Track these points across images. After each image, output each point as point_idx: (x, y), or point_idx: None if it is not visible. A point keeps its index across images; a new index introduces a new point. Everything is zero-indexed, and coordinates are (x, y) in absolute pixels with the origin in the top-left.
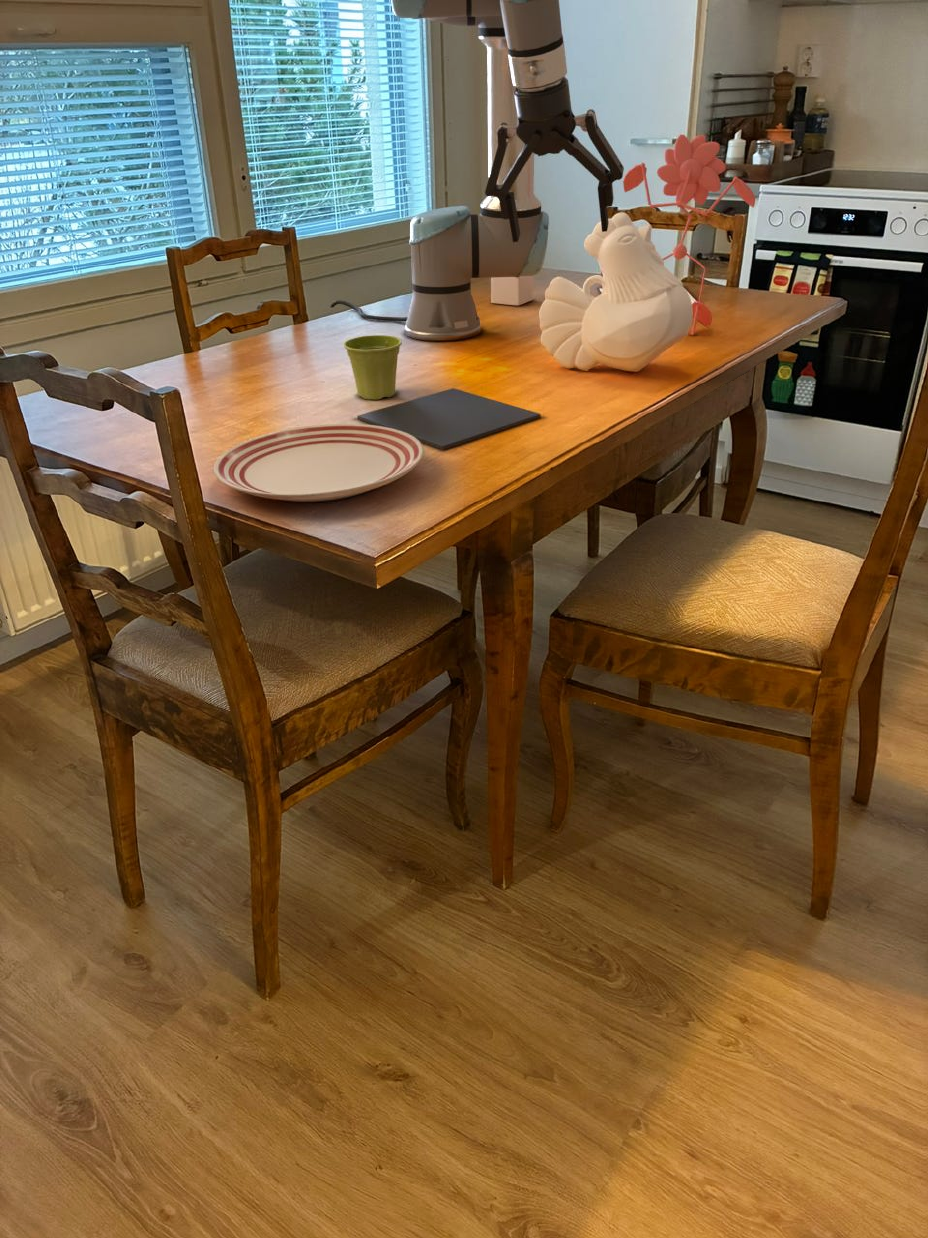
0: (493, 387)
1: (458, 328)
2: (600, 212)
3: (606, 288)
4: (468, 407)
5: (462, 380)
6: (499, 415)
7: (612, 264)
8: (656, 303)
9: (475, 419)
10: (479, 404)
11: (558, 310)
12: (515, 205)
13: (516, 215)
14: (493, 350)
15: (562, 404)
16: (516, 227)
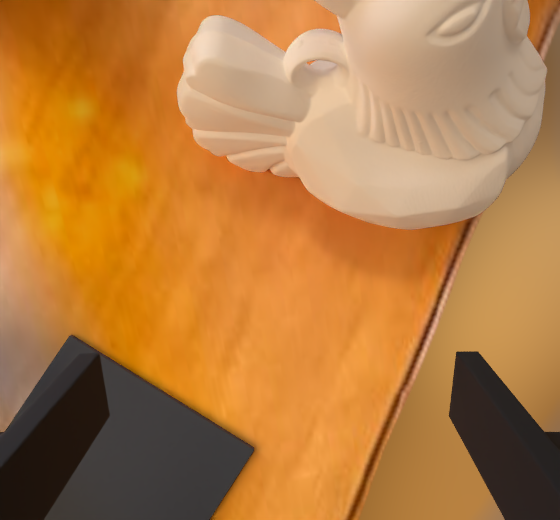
0: (139, 296)
1: None
2: (484, 479)
3: (351, 88)
4: (126, 442)
5: (71, 262)
6: (189, 473)
7: (387, 81)
8: (475, 180)
9: (154, 501)
10: (141, 422)
11: (228, 120)
12: (27, 445)
13: (57, 423)
14: (80, 39)
15: (277, 371)
16: (84, 434)
